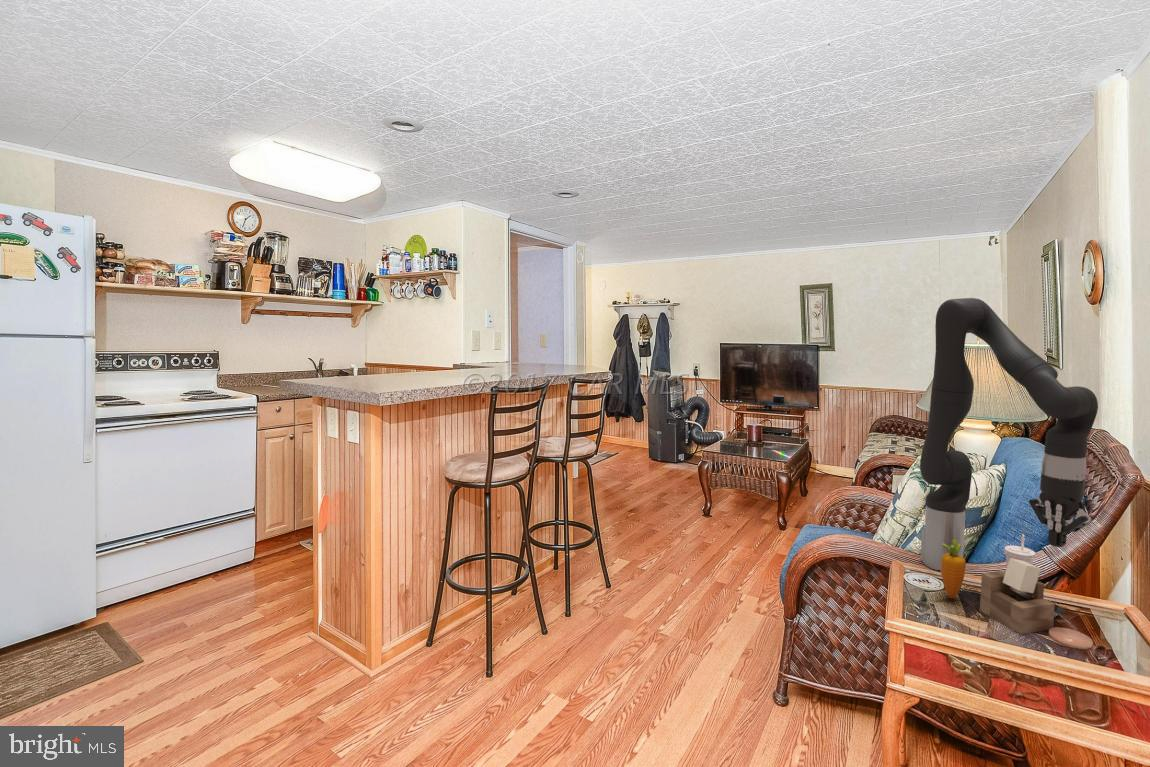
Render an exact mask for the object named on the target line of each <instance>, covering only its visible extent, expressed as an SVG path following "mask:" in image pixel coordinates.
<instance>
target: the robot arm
mask: <svg viewBox="0 0 1150 767" xmlns="http://www.w3.org/2000/svg"><path fill="white" fill-rule="evenodd" d="M967 334H972V335H974V336H976V337H977V338H979V339H981V340H983V342H985V343H986V344H987V345H988V346H989V347H990V348H991V350H992V351H993V354H994V355H995V358H996V360H997V361H998V363H999V365H1000V366H1001V368H1003V370H1004V371H1005V372H1006V373H1007V374H1008V375H1009V376H1010V377H1012V378H1013V379H1014V380H1015V381H1016V382H1017V383H1018V384H1020V385H1021V386H1022V387H1024V388H1025V391H1027V393H1028V394H1029V396H1030V398H1031V399H1032V400H1033V402H1034V403H1035V404H1036V405H1037V407H1038V408H1039V410H1041V411H1042V412H1044V414H1046V415H1047V416H1049V417H1051V418H1054V419H1056V424H1055V425H1054V426H1053V427H1051V428H1050V429H1048V430H1047V431H1046V435H1045V441H1044V452H1043V457H1042V461H1041V472H1040V482H1039V485H1040V486H1039V490H1040V493H1039V495H1038V496H1039V497H1037V498H1031V499H1028V503H1029V505H1030V506H1031V509H1032V510H1033V512H1034V514H1035V515H1036V518H1037V519H1038V521H1039V523H1041V524H1042V525H1045V526H1047V529H1048V537H1047V540H1048V543H1049V545H1050V546H1052V547H1055V548H1063V547H1064V546H1066V544H1067V537H1068V536H1067V535H1068V534H1070V533H1077V532H1079V531H1080V530H1081V529H1083V528H1084V527H1086V526H1087V525H1089V524H1090V523H1092V522H1093V521H1094V520H1095V517H1094V516H1093V515H1089V514H1088V513H1087V512H1086V511H1085V510H1084V504H1083V502H1082V500H1083V498H1084V495H1085V489H1086V474H1087V452H1088V451H1087V448H1088V437H1089V435H1090V434H1091V431H1092V429H1093V425H1094V423H1095V420H1096V417H1097V414H1098V409H1099V403H1098V398H1097V396H1096V394H1095V393H1094V391H1092V390H1091V389H1089V388H1088V387H1084V386H1077V385H1075V386H1069V387H1065V386H1064V385H1062V383H1061V382H1060V381H1059V380H1058V376H1059V373H1058V371H1057V369H1056V368H1055V367H1053V365H1052V364H1050V363H1049V362H1047V361H1046V360H1045V359H1044V358H1042V357H1041V356H1040V355H1039V354H1037V353H1036V352H1035V351H1034V350H1032V349H1031V348H1030V347H1029V346H1028V345H1026V344H1025V343H1024V342H1023V341H1022V340H1021V339H1020V338H1019V337H1018V336H1017V335H1016V334H1015V333H1014V332H1013V331H1012V330H1011V329H1010V328H1009V327H1008V325H1006V323H1005V322H1004V321H1003V320H1002V319H1001V318H1000V316H998V314H997V313H996V312H995V311H994V310H993V308H992V307H990V305H989V304H987V302H985V301H984V300H982V299H980V298H975V297H967V298H965V297H963V298H961V297H960V298H951V299H947V300H945V301H944V302H942V303H941V304H940V305H939V307H938V309H937V312H936V315H935V354H934V355H935V356H934V357H935V358H934V365H933V366H934V367H933V369H934V370H933V378H932V383H931V384H932V385H931V392H930V393H931V394H930V405H929V414H928V422H927V428H926V434H925V437H924V442H923V445H922V446H923V447H922V451H921V456H920V461H919V470H920V474H921V477H922V479H923V480H924V482H926V483H927V484H929V485H933V486H939V487H938V488H936V489H935V490H934V491H931V492H929V493H928V494H927V495H925V512H924V514H925V515H924V528H921V538H920V539H921V540H920V541H921V542H920V561H922V562H923V564H924V565H925V566H926V567H927V568H930V569H932V570H934V569H935V571H937V570H940V571H939V572H942V570H941V559H942V556H943V555H944V554H946V553H949V551H948V550H947V549H946V548H945V547H944V546H942V544H946V545H947V546H948V547H949V548H950V547H951V546H952V545H953V540H954V539H955V540H957V543H958V544H960V545H961V548H960V550H959V551H958V553H957V555H960V556H961V557H963V558H964V549H965V546H964V545H965V525H966V524H965V523H966V507H967V506H966V505H967V504H968V502H969V500H970V495H971V494H970V493H971V485H972V478H973V476H972V475H973V472H972V471H973V468H972V463H971V461H970V459H969V457H968V455H967V454H966V453H965V452H963V451H960V450H948V448H949V443H950V441H951V438H952V436H953V435H954V432H955V431H956V430H957V429H958V427H959V426H960V425H961V424H962V422H963V421H964V420H965V418H966V417H967V416H968V414H969V412H970V410H971V408H972V404H973V397H974V390H975V388H974V386H975V385H974V384H975V383H974V379H973V374H972V373H971V370H970V368H969V365H968V363H967V361H966V357H965V356H966V355H965V345H966V337H967ZM1074 519H1075V520H1074Z"/></svg>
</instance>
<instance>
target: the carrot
mask: <svg viewBox="0 0 1150 767" xmlns="http://www.w3.org/2000/svg"><path fill="white" fill-rule="evenodd" d="M942 546H944V547H945V548H946V549H947V550H948V551H949V553H946V554H944V555H943V556H942V559H941V570H942V571H941V579H942V583H943V587H944V590H945V592H946V594H947V596H948V597H949V599H951V600H952V599H954V598H955V597H957V595H958V593H960V590H961V588H962V585H963V582H964V579H965V573H966V563H967V562H966V559H965V558H964V556H963V557H961V556H960V555H957V553H958V551H959V550H960V548H961V545H960V544H958V543H957V540H955V539H954V540H953V545H952V546H951V547H950V548H949V547H948V546H947V545H946V544H942Z"/></svg>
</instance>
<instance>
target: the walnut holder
mask: <svg viewBox="0 0 1150 767" xmlns="http://www.w3.org/2000/svg"><path fill="white" fill-rule="evenodd" d="M1005 573H1006V569H1005V570H1004V569H1003V570H996V571H995V570H994V571H987V572H981V582H980V585H981V586H980V598H979V599H980V604H979V611H980V610H981V611H982V612H981V611H980V612H981V613H983V614H985V615H987V616H988V617H990V618H992V619H993V620H996V621H997V622H999V623H1001V624H1003V625H1004V626H1006V627H1008V628H1009V629H1011V630H1012V631H1015V633H1016V632H1017V633H1019V634H1020V635H1023V634H1030V633H1037V632H1043V631H1049V629H1050V628H1053V627H1054V618H1055V617H1054V606H1055V604H1056V603H1054V602H1052V601H1050V600H1048V601H1047V599H1046V600H1045V598H1044V592H1045V583H1043V582H1041V581H1039V580H1037V583H1036V586H1035V589H1034V593H1029V592H1026V593H1027V594H1029V595H1030V596H1032V597H1033V600H1028V601H1026V599H1024V598H1023V597H1021V596H1020V595H1018V594H1017V593H1015V592H1014V591H1012V590H1010V587H1011V586H1009V585H1007V584H1005V583H1003V579H1004V576H1005ZM1043 598H1044V599H1043Z"/></svg>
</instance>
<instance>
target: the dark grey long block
mask: <svg viewBox="0 0 1150 767" xmlns="http://www.w3.org/2000/svg"><path fill="white" fill-rule="evenodd" d="M1010 590H1012V591H1014V592H1015V593H1017V594H1018V595H1020V596H1021V597H1023V598H1024V599H1026V601H1028V600H1033V597H1032V596H1030V595H1029V594H1027V593H1026V592H1024V591H1019V590H1017V589H1015V588H1013V587H1010ZM1043 599H1045V598H1044V597H1043ZM1045 600H1047V599H1045ZM1047 601H1049V600H1047ZM1054 604H1055V606H1054V616H1055V617H1054V618H1057V617H1058V615H1060V616H1061V617H1062V616H1064V614H1065V613H1066V611H1067V610H1066V609H1064V608H1063V607H1061V606H1060V605H1058V604H1056V603H1054ZM1056 616H1057V617H1056Z"/></svg>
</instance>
